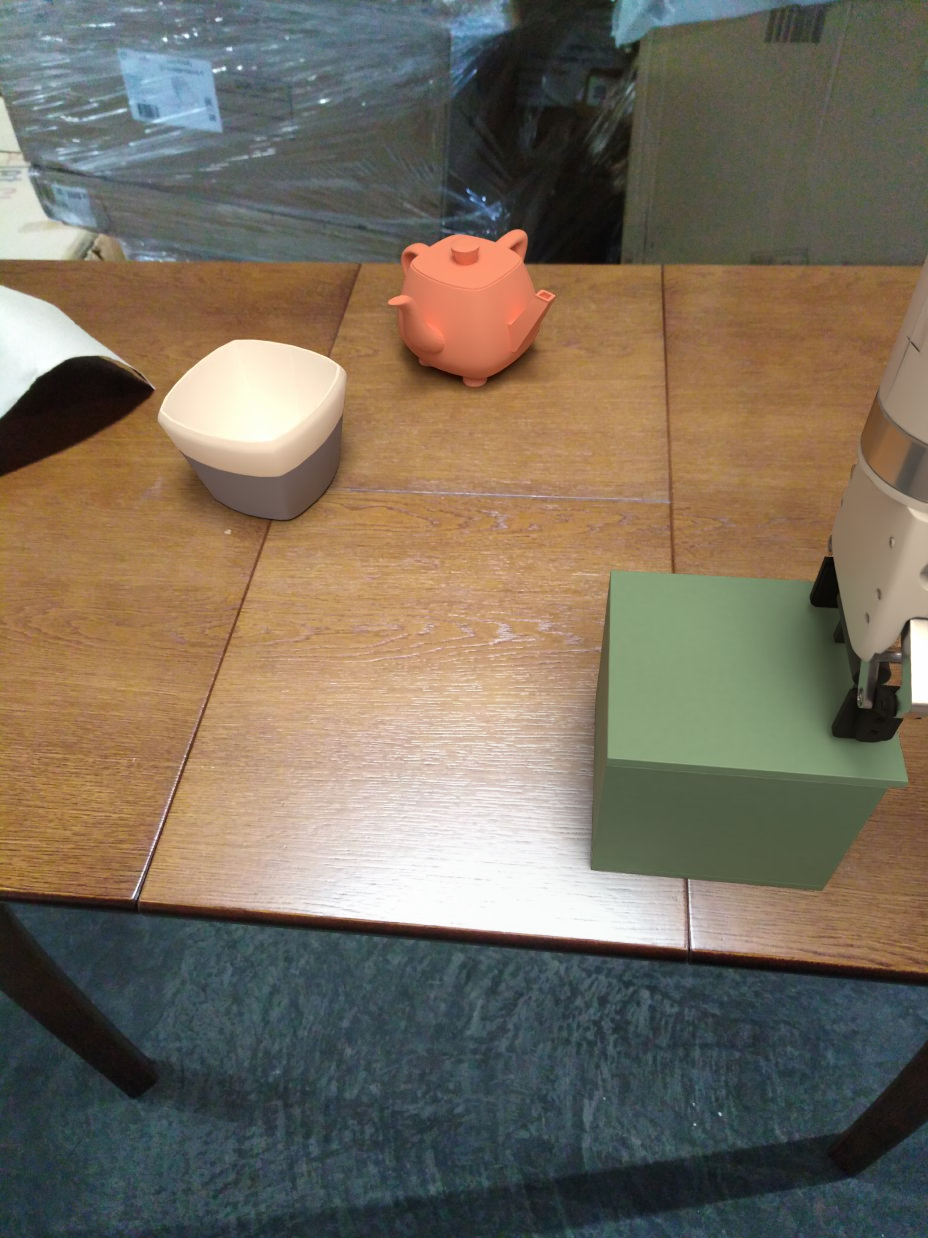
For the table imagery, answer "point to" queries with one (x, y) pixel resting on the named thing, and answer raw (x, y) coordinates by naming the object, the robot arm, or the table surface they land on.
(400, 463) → the table surface
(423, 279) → the teapot
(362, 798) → the table surface
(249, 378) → the bowl
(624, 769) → the chest
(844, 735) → the robot arm
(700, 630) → the lid
